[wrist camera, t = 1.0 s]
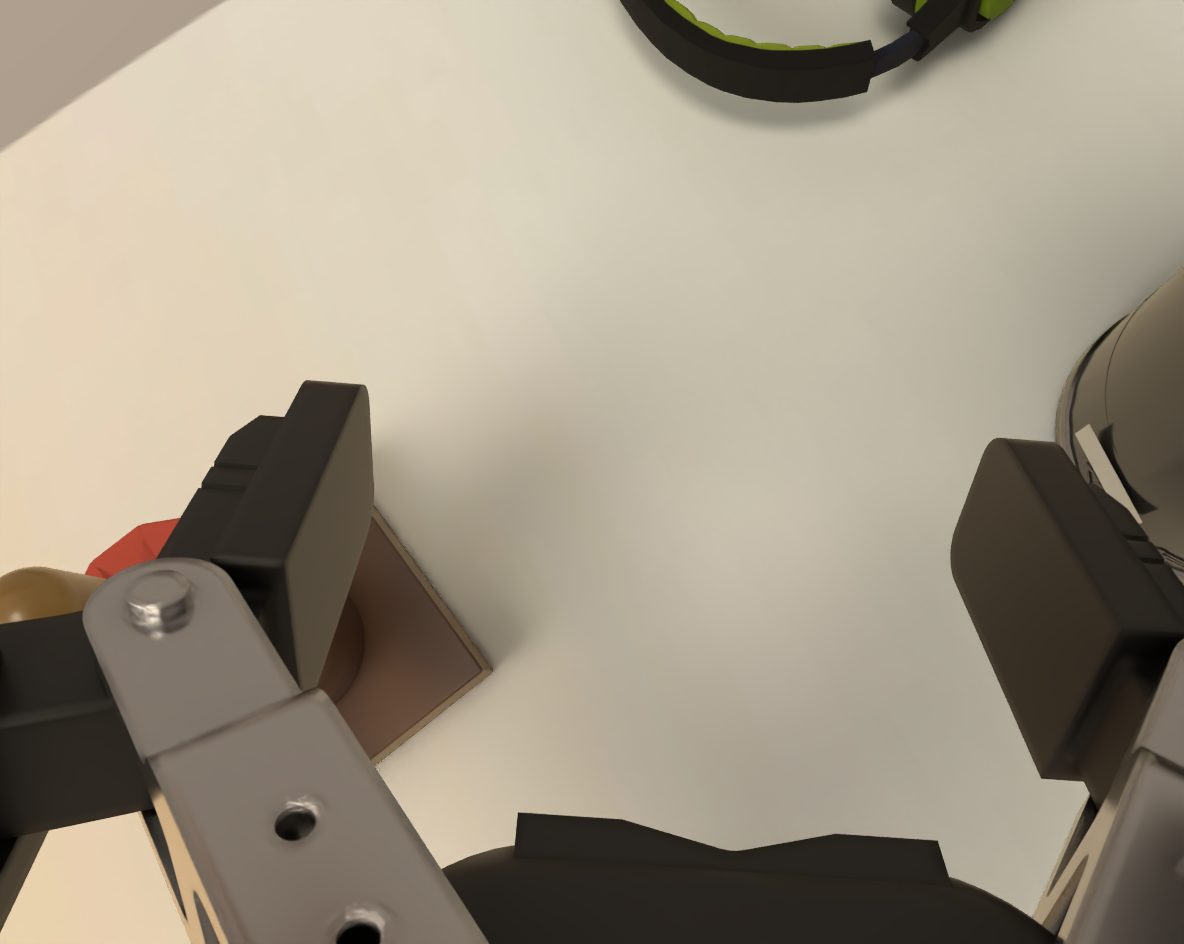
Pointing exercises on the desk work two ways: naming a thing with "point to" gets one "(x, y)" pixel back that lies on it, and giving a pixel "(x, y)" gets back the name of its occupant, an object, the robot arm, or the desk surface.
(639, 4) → the headphones
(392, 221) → the desk surface
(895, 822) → the desk surface
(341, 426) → the robot arm
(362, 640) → the ring stand
